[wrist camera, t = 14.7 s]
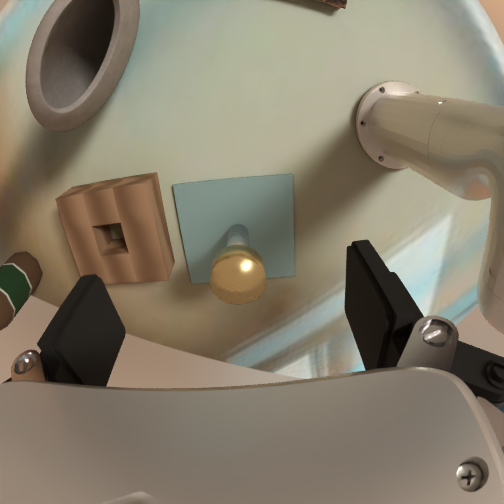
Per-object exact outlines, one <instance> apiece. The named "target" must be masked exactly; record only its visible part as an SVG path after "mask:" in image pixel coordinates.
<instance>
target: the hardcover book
mask: <svg viewBox="0 0 504 504" xmlns="http://www.w3.org/2000/svg"><path fill="white" fill-rule="evenodd" d="M316 1H320V2H323V3H326V4H329V5H332V6H335V7H338V8H344V9H345V8H346V3H347V0H316Z"/></svg>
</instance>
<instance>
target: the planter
mask: <svg viewBox="0 0 504 504" xmlns="http://www.w3.org/2000/svg"><path fill="white" fill-rule="evenodd" d="M139 18H140V5H139V0H55V1H54V2H53V3H52V5H51V6H50V8H49V9H48V11H47V12H46V14H45V15H44V17H43V19H42V20H41V22H40V24H39V26H38V28H37V31H36V33H35V35H34V38H33V41H32V44H31V47H30V51H29V55H28V60H27V66H26V94H27V99H28V103H29V106H30V109H31V111H32V113H33V115H34V117H35V118H36V120H37V121H38V122H39V123H40V124H41V125H42V126H43V127H45V128H46V129H48V130H51V131H55V132H65V131H69V130H72V129H74V128H76V127H78V126H80V125H82V124H83V123H85V122H86V121H87V120H88V119H90V118H91V117H92V116H93V115H94V114H95V113H96V112H97V111H98V110H99V109H100V108H101V107H102V106H103V105H104V103H105V102H106V101H107V99H108V98H109V97H110V95H111V94H112V92H113V90H114V89H115V87H116V85H117V84H118V82H119V80H120V78H121V76H122V74H123V72H124V70H125V68H126V66H127V63H128V61H129V58H130V56H131V53H132V50H133V47H134V43H135V40H136V36H137V31H138V26H139Z"/></svg>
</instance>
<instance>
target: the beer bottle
mask: <svg viewBox="0 0 504 504" xmlns="http://www.w3.org/2000/svg"><path fill="white" fill-rule="evenodd" d="M41 276H42V271H41V268H40V266H39V264H38V261H37V260H36V259H35V258H34V257H33V256H31V255H30V254H29V253H28V252H19V253H15V254H14V255H12V256H11V257H10V258H9V259H8V260H7V261H6V262H5V263H4V264H3V265H2V266H1V267H0V330H2V329H3V328H5V327H7V326H8V325H9V324H10V322H11V321H12V320H13V319H14V317H15V316H16V314H17V313H18V312H19V310H20V309H21V308H22V306H23V305H24V303H25V302H26V301H27V300H28V298H29V297H30V296H31V294H32V293H33V292H34V290H35V289H36V288H37V286H38V285H39V282H40V279H41Z"/></svg>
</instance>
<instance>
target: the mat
mask: <svg viewBox="0 0 504 504" xmlns="http://www.w3.org/2000/svg"><path fill="white" fill-rule="evenodd" d="M173 189H174V195H175V201H176V207H177V212H178V218H179V223H180V229H181V234H182V239H183V244H184V250H185V255H186V260H187V264H188V269H189V274H190V279H191V283H192V284H198V283H210V277H211V269H212V263H213V260H214V257H215V256H216V254H217V253H218V252H219V251H221V250H222V249H224V248H225V247H226V245H227V232H228V229H229V228H230V227H231V226H232V225H234V224H242V225H244V226H245V227H246V228H247V229H248V232H249V245H250V248H252V249H254V250H255V251H257V252H258V253H259V254H260V256H261V257H262V260H263V263H264V270H265V277H266V279H267V278H280V277H292V276H294V194H293V174H284V175H268V176H253V177H241V178H229V179H218V180H208V181H199V182H190V183H181V184H173Z"/></svg>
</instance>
